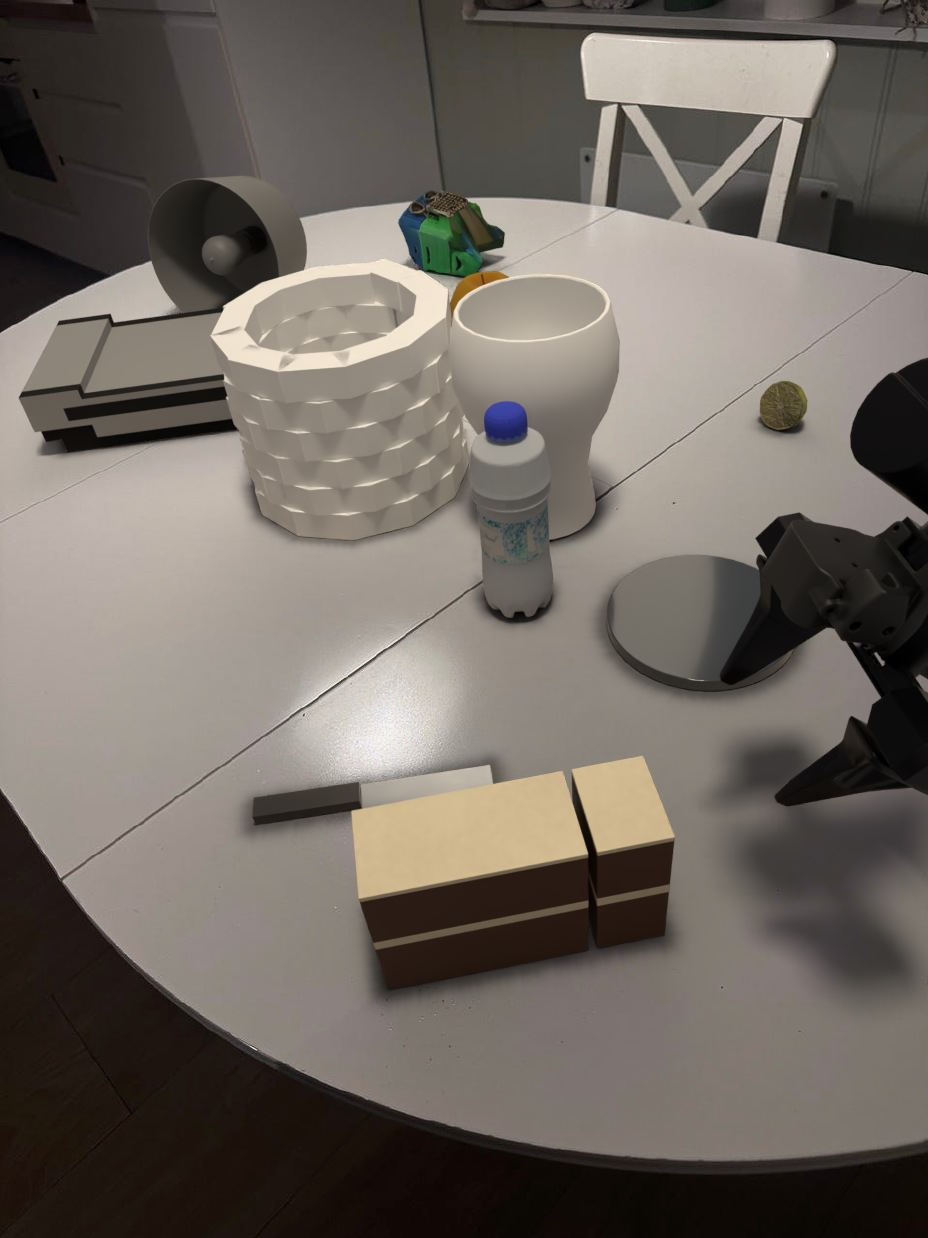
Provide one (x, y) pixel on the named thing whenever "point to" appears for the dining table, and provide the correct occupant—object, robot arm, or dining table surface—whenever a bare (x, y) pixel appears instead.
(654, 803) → the cake slice
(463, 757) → the dining table surface
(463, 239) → the sculpture
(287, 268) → the light fixture
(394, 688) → the dining table surface
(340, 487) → the basket
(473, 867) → the cake
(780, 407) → the lime
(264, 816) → the cake knife
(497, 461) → the bottle
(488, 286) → the white vase
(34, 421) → the game console
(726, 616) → the plate
